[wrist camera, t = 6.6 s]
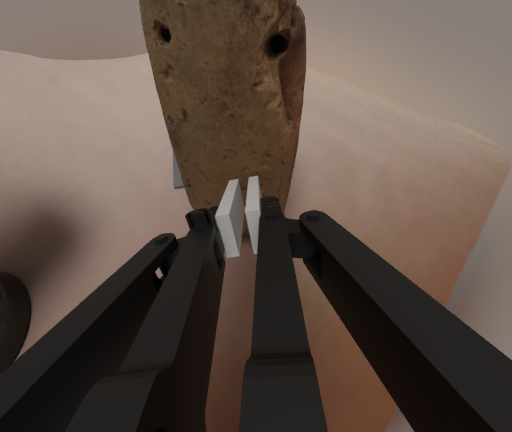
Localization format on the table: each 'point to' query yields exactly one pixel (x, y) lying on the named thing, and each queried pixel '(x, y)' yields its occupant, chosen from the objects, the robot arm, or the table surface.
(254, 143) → the block
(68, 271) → the table surface
